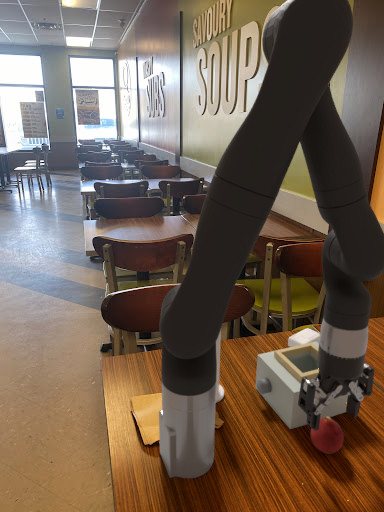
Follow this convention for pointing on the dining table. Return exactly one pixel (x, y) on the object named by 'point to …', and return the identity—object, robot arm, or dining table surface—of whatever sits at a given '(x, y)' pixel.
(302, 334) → the soap
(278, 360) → the box
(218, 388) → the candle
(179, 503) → the dining table surface
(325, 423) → the onion
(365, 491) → the dining table surface
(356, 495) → the dining table surface
